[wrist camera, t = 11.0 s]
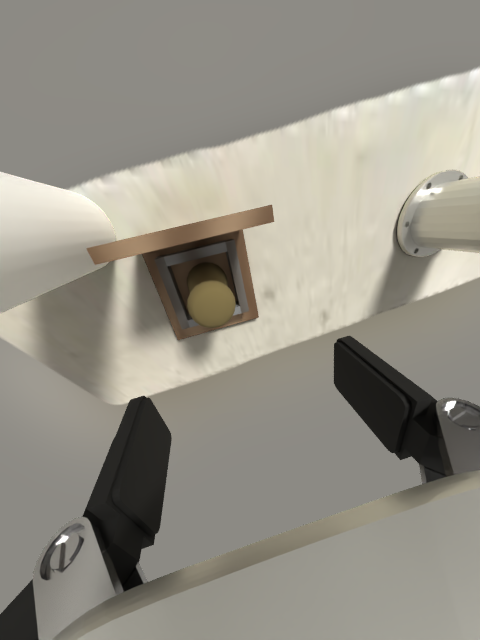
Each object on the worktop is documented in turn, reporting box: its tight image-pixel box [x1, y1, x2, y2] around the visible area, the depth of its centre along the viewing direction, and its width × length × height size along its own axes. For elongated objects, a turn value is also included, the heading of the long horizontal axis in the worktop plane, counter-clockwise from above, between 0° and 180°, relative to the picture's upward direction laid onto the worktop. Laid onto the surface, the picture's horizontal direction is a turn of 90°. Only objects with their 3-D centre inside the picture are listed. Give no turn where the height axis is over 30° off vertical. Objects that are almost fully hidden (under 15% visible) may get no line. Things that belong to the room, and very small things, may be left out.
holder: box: [86, 205, 274, 340], centre depth 25 cm, size 14×16×14 cm
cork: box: [187, 262, 236, 328], centre depth 25 cm, size 6×6×11 cm
